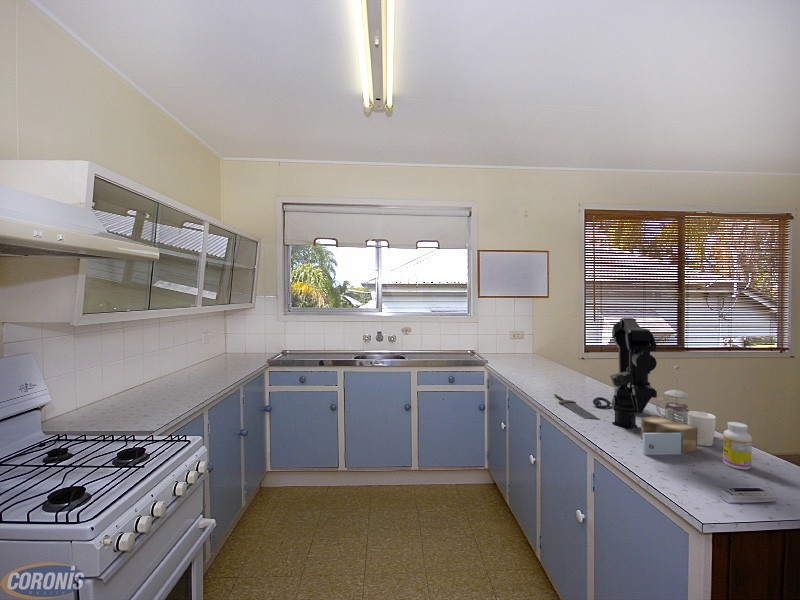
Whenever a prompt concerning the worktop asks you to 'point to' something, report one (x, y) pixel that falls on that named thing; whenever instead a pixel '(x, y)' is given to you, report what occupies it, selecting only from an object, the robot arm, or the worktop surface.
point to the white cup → (703, 426)
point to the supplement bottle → (737, 446)
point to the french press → (675, 405)
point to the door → (662, 443)
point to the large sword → (576, 408)
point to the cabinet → (671, 430)
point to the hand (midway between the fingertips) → (638, 411)
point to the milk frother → (598, 403)
